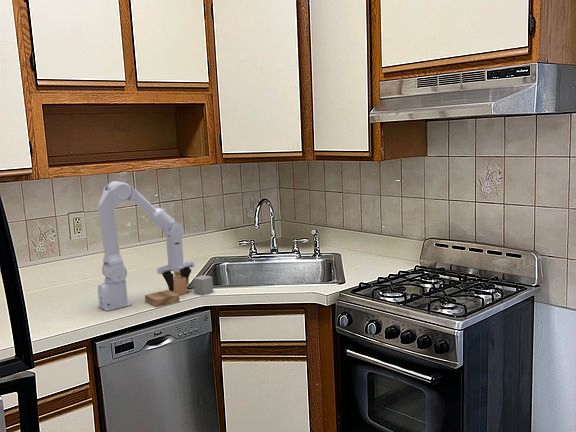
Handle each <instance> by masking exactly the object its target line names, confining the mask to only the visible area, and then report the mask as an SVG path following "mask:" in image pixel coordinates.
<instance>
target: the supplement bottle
mask: <svg viewBox="0 0 576 432" xmlns="http://www.w3.org/2000/svg"><path fill="white" fill-rule="evenodd" d="M183 261H184V262H186V261H185V260H183ZM173 274H174V275H173V277H174V276H179V275H180V276H181V273H180V270H175V271H173ZM189 285H190V282H189V278H188V281H187V287H189Z"/></svg>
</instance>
